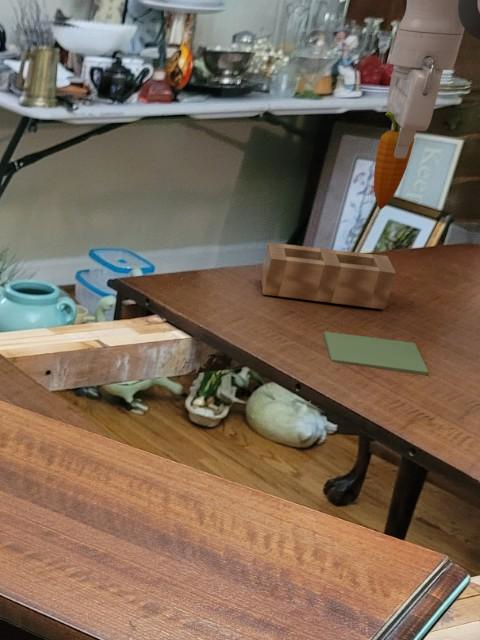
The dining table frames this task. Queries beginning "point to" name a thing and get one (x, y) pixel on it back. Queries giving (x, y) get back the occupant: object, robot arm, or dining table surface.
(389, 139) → the carrot
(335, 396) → the dining table surface
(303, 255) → the rack
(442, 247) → the dining table surface
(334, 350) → the mat
